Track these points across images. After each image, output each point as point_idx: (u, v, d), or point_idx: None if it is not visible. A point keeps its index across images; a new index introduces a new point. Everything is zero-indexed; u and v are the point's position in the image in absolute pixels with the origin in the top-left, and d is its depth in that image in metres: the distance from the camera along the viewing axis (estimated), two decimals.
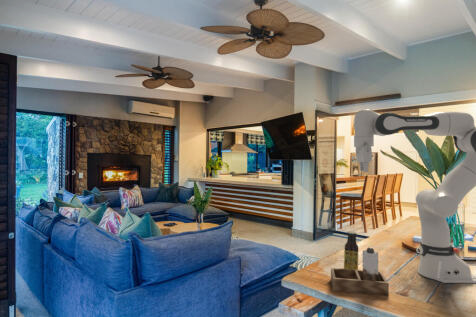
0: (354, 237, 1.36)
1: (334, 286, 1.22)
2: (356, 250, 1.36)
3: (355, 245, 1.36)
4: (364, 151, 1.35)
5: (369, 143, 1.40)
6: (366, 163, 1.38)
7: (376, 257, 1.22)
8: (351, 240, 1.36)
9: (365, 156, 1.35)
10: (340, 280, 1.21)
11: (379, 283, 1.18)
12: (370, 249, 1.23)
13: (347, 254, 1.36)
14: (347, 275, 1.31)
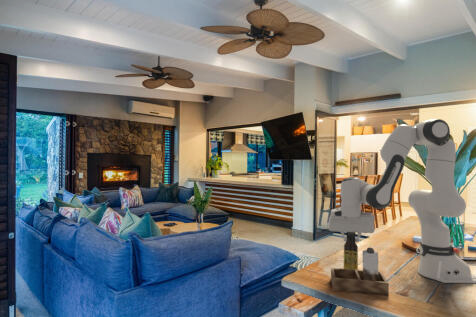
0: (353, 237, 1.36)
1: (334, 286, 1.22)
2: (355, 250, 1.36)
3: (354, 245, 1.36)
4: (373, 222, 1.35)
5: None
6: (360, 233, 1.37)
7: (376, 257, 1.22)
8: (350, 240, 1.36)
9: None
10: (340, 280, 1.21)
11: (379, 283, 1.18)
12: (370, 249, 1.23)
13: (346, 254, 1.36)
14: (347, 275, 1.31)
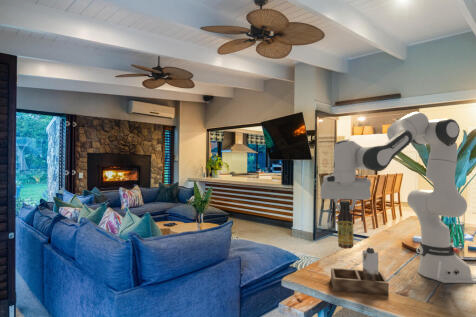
0: (347, 206, 1.25)
1: (334, 286, 1.22)
2: (350, 220, 1.24)
3: (349, 214, 1.25)
4: None
5: None
6: (355, 200, 1.25)
7: (376, 257, 1.22)
8: (344, 209, 1.25)
9: None
10: (340, 280, 1.21)
11: (379, 283, 1.18)
12: (370, 249, 1.23)
13: (340, 224, 1.25)
14: (347, 275, 1.31)
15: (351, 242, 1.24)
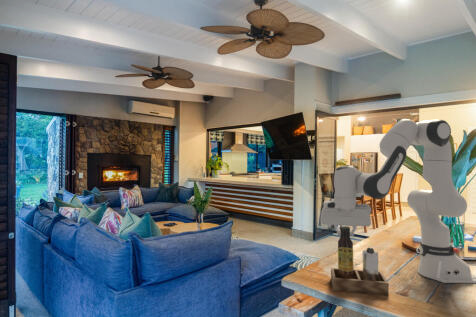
0: (347, 232, 1.25)
1: (334, 286, 1.22)
2: (350, 246, 1.24)
3: (349, 241, 1.25)
4: (369, 214, 1.23)
5: None
6: None
7: (376, 257, 1.22)
8: (344, 235, 1.25)
9: (370, 220, 1.23)
10: (340, 280, 1.21)
11: (379, 283, 1.18)
12: (370, 249, 1.23)
13: (340, 251, 1.25)
14: (347, 275, 1.31)
15: (351, 268, 1.24)
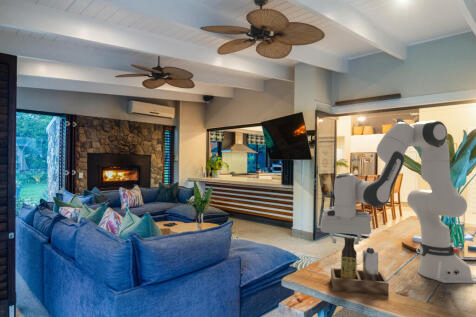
0: (352, 242, 1.25)
1: (334, 286, 1.22)
2: (354, 256, 1.24)
3: (353, 251, 1.25)
4: (369, 222, 1.23)
5: None
6: (360, 234, 1.25)
7: (376, 257, 1.22)
8: (349, 245, 1.25)
9: (370, 228, 1.23)
10: (340, 280, 1.21)
11: (379, 283, 1.18)
12: (370, 249, 1.23)
13: (344, 260, 1.25)
14: None
15: None
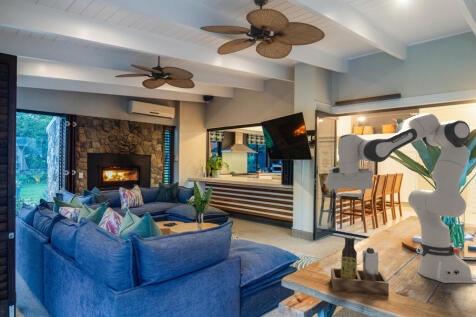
0: (352, 242, 1.25)
1: (334, 286, 1.22)
2: (354, 256, 1.24)
3: (353, 251, 1.25)
4: (371, 177, 1.33)
5: None
6: None
7: (376, 257, 1.22)
8: (349, 245, 1.25)
9: (372, 182, 1.33)
10: (340, 280, 1.21)
11: (379, 283, 1.18)
12: (370, 249, 1.23)
13: (344, 260, 1.25)
14: None
15: None
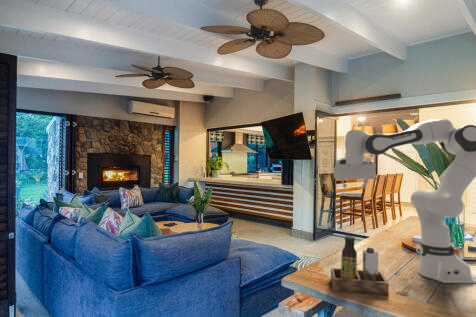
0: (352, 242, 1.25)
1: (334, 286, 1.22)
2: (354, 256, 1.24)
3: (353, 251, 1.25)
4: (374, 169, 1.49)
5: None
6: None
7: (376, 257, 1.22)
8: (349, 245, 1.25)
9: (375, 173, 1.49)
10: (340, 280, 1.21)
11: (379, 283, 1.18)
12: (370, 249, 1.23)
13: (344, 260, 1.25)
14: None
15: None
